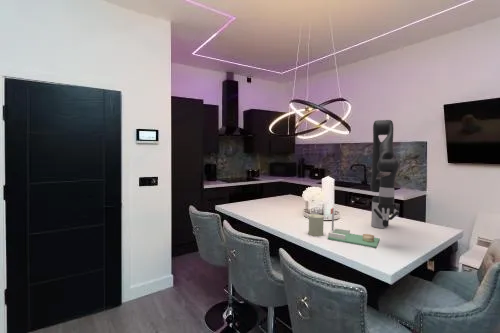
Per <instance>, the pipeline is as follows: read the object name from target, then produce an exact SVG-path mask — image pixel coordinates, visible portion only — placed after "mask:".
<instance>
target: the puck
mask: <svg viewBox="0 0 500 333" xmlns="http://www.w3.org/2000/svg"><path fill="white" fill-rule="evenodd" d="M362 236H363V241H365V242H374V237H375V235H374V234H371V233H363V234H362Z"/></svg>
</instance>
